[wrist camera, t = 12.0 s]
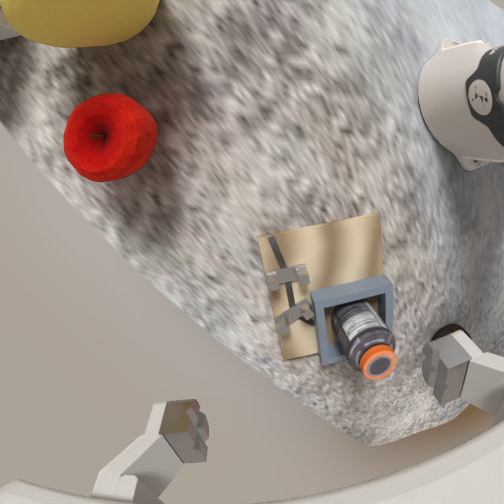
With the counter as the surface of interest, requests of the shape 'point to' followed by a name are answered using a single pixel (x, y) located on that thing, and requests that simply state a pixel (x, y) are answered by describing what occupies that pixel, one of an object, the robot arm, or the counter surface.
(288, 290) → the board
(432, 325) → the counter surface
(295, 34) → the counter surface
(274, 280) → the clips
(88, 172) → the apple
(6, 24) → the supplement box
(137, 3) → the vase
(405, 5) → the counter surface
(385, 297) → the end holder
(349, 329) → the pill bottle
